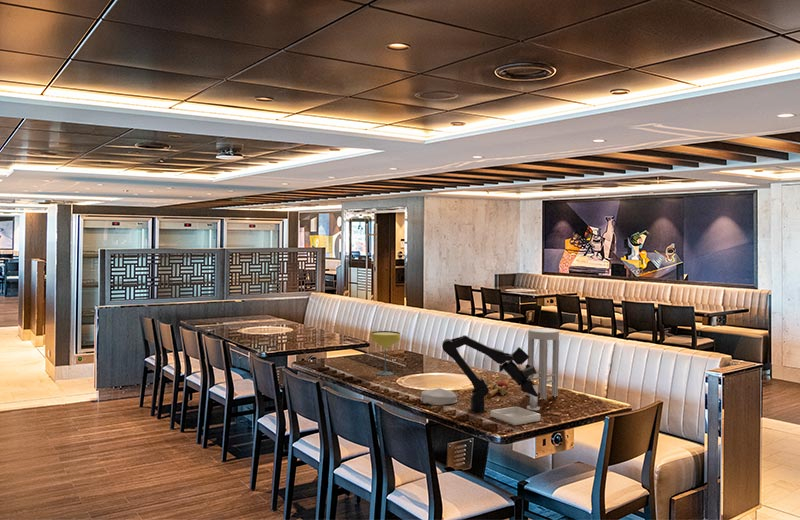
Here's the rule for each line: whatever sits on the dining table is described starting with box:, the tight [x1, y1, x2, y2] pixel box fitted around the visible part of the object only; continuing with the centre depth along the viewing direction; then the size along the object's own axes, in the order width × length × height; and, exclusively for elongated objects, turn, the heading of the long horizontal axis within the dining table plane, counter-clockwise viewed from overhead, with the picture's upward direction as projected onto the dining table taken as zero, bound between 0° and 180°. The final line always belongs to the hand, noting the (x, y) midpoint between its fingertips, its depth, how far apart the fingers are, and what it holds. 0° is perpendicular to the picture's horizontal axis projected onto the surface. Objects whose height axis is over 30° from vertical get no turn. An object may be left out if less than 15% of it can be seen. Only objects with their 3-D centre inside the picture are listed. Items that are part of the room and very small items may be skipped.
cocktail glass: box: [370, 330, 401, 376], centre depth 395 cm, size 18×18×25 cm
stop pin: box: [526, 379, 541, 412], centre depth 310 cm, size 6×6×14 cm
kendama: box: [486, 381, 509, 398], centre depth 346 cm, size 8×6×18 cm
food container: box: [419, 387, 458, 406], centre depth 331 cm, size 20×20×7 cm
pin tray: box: [490, 406, 542, 426], centre depth 299 cm, size 16×16×3 cm
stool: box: [526, 328, 560, 400], centre depth 344 cm, size 16×16×35 cm
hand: (536, 395), depth 310 cm, fingers closed on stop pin, 4 cm apart
